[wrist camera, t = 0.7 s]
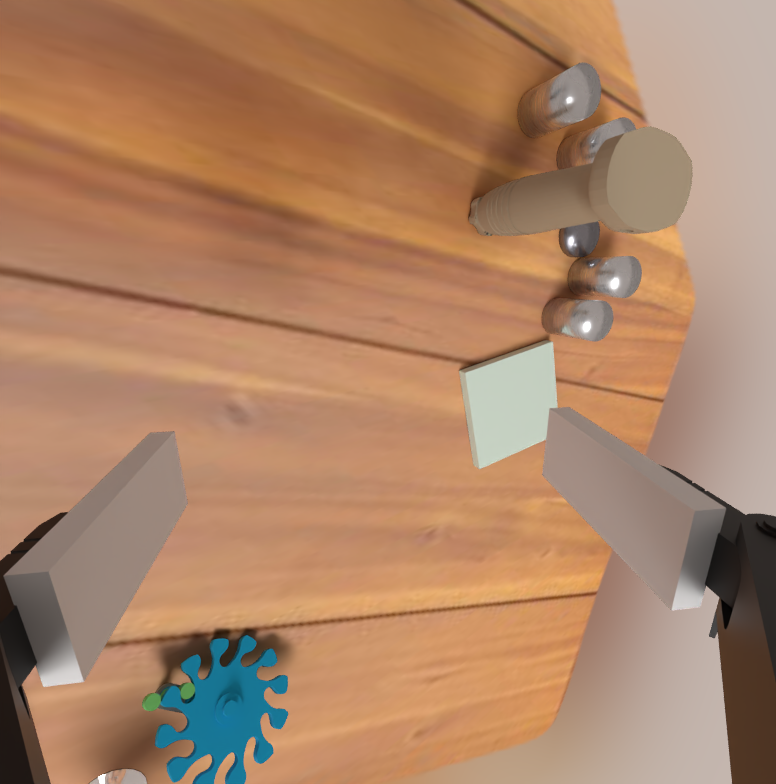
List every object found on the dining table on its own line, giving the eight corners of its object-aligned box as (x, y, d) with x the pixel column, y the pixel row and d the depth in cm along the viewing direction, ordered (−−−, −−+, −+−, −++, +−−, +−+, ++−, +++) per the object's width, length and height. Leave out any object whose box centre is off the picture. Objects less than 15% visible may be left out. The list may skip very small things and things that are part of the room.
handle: (507, 251, 38) (677, 240, 24) (445, 238, 35) (597, 218, 22) (518, 192, 36) (701, 147, 23) (455, 175, 34) (621, 112, 21)
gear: (306, 650, 38) (269, 805, 31) (281, 653, 42) (244, 792, 35) (182, 616, 34) (111, 785, 27) (168, 624, 38) (104, 773, 32)
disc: (555, 216, 39) (565, 215, 38) (588, 208, 40) (598, 207, 39) (558, 261, 40) (567, 261, 39) (589, 252, 42) (600, 251, 40)
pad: (458, 370, 39) (465, 372, 38) (545, 340, 42) (552, 341, 41) (473, 465, 42) (479, 469, 41) (552, 430, 45) (559, 433, 44)
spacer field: (515, 91, 34) (563, 64, 30) (588, 82, 36) (642, 56, 32) (536, 340, 41) (577, 348, 37) (596, 319, 44) (641, 324, 39)
